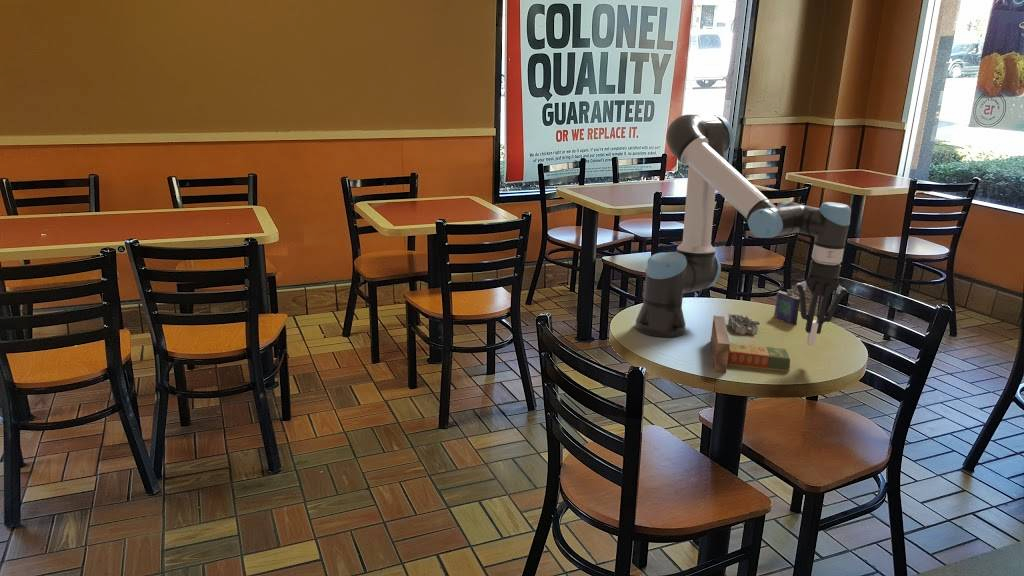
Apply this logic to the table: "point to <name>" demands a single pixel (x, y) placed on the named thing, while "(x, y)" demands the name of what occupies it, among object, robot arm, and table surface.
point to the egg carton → (743, 324)
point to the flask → (787, 307)
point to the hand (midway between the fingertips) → (810, 343)
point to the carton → (758, 357)
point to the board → (719, 344)
